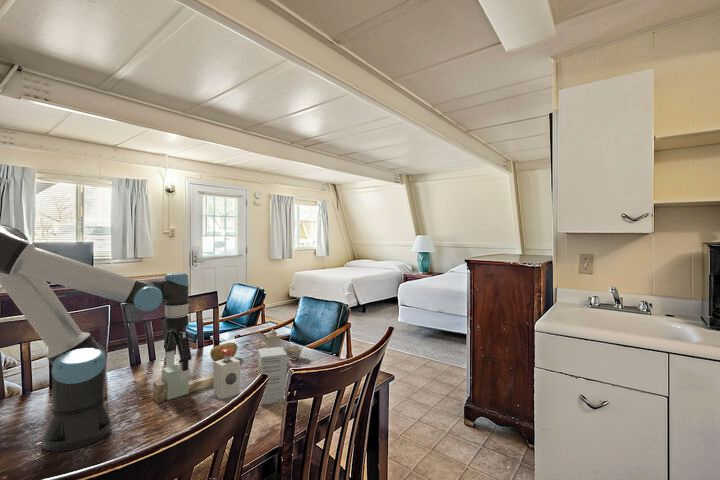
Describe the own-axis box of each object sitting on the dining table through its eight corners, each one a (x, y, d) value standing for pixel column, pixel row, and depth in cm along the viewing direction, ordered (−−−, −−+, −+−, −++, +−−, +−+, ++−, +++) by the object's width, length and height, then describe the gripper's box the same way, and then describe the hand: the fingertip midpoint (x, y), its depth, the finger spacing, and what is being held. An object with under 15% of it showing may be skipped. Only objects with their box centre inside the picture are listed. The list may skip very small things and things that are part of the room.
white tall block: (221, 399, 121) (222, 366, 121) (213, 394, 125) (214, 361, 125) (240, 393, 126) (240, 361, 126) (231, 388, 130) (232, 356, 130)
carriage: (167, 400, 119) (168, 372, 119) (161, 394, 123) (162, 368, 123) (188, 393, 125) (189, 367, 124) (182, 388, 129) (182, 363, 129)
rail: (157, 403, 118) (158, 385, 117) (153, 398, 121) (153, 381, 121) (229, 381, 137) (230, 366, 137) (224, 377, 140) (224, 363, 140)
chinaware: (281, 382, 141) (286, 342, 140) (244, 374, 144) (249, 335, 143) (304, 359, 168) (308, 325, 168) (272, 353, 171) (276, 320, 171)
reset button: (224, 364, 123) (224, 352, 123) (218, 361, 126) (218, 349, 126) (235, 361, 126) (236, 349, 126) (230, 358, 129) (230, 347, 129)
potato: (243, 357, 164) (243, 341, 164) (221, 367, 151) (221, 349, 151) (227, 354, 168) (227, 338, 168) (204, 364, 155) (204, 346, 155)
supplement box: (256, 393, 126) (257, 348, 126) (281, 390, 130) (282, 345, 130) (259, 405, 117) (260, 356, 117) (286, 401, 121) (287, 353, 121)
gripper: (201, 319, 118) (201, 380, 118) (175, 308, 135) (175, 362, 135) (178, 323, 113) (178, 387, 113) (154, 311, 130) (154, 367, 130)
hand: (176, 373), depth 124 cm, fingers open, 13 cm apart
